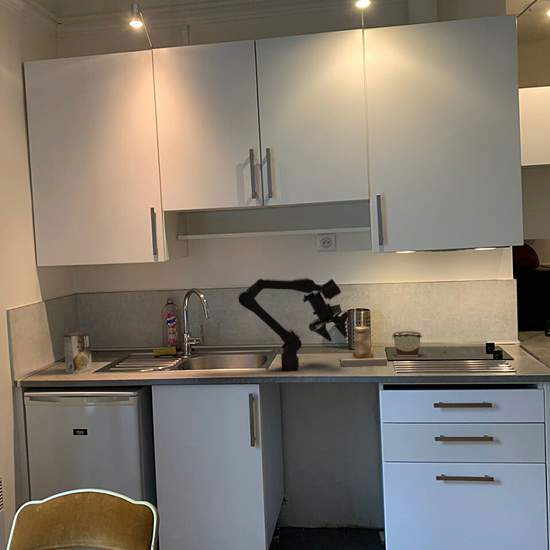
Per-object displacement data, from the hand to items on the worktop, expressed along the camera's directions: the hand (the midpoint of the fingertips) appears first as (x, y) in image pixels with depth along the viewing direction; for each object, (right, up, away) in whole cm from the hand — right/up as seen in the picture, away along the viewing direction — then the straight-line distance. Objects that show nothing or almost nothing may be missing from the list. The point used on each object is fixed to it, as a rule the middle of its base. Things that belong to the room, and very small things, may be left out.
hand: (338, 338), depth 246 cm
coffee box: (-109, -15, +13) cm, 111 cm away
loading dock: (+11, -10, +5) cm, 16 cm away
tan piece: (+11, -8, +5) cm, 14 cm away
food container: (+31, -9, +15) cm, 36 cm away
